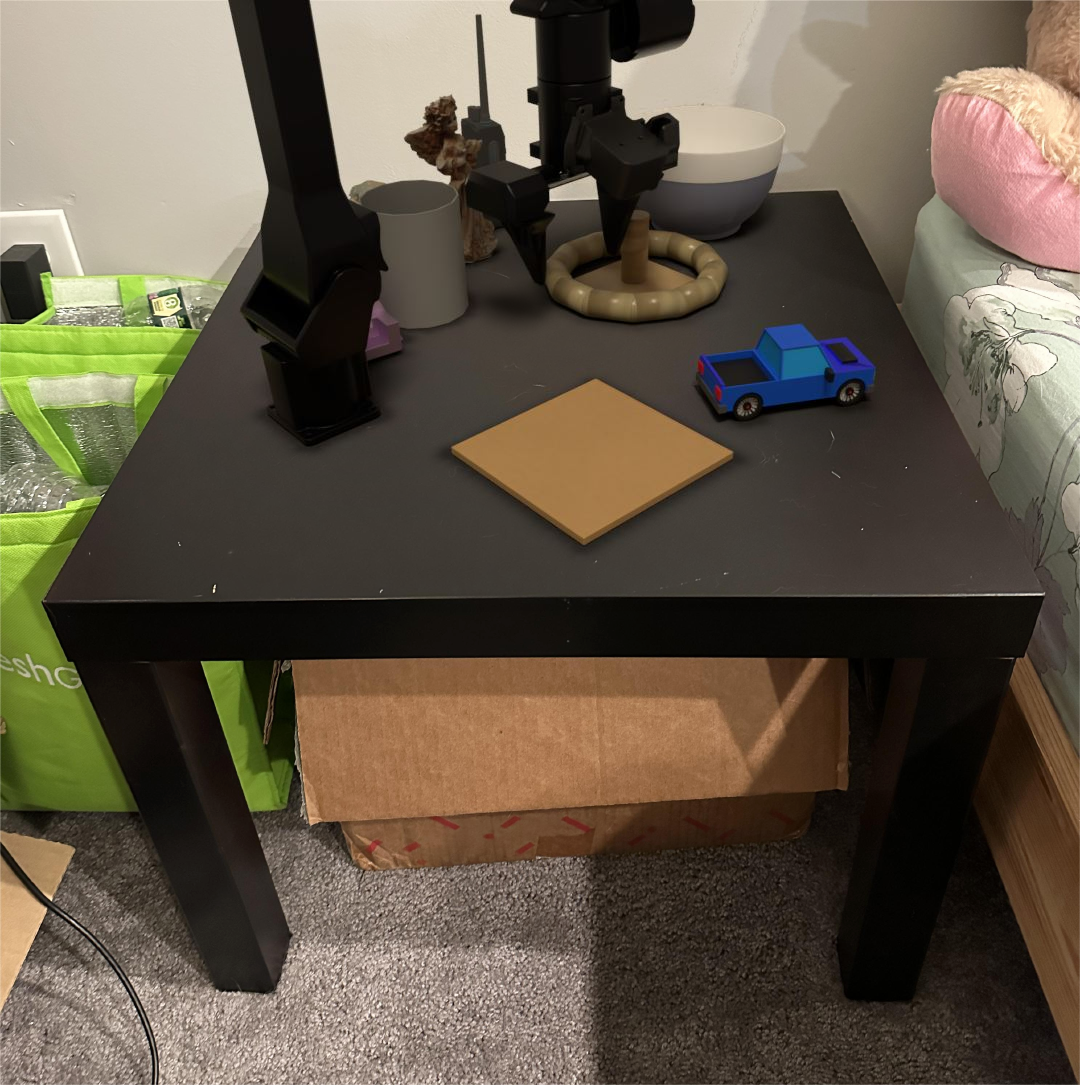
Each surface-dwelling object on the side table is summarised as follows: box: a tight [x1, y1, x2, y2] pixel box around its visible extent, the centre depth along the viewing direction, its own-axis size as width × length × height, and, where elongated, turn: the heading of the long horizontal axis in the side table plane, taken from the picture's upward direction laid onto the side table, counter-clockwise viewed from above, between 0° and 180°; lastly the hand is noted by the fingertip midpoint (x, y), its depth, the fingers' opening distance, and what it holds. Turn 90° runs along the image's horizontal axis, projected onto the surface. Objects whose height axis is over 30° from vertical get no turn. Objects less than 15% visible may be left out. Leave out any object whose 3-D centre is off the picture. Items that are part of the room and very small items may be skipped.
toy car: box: [695, 323, 877, 422], centre depth 71 cm, size 7×12×5 cm, turn 101°
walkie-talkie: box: [460, 13, 507, 230], centre depth 95 cm, size 5×3×20 cm
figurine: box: [403, 93, 499, 264], centre depth 90 cm, size 7×6×15 cm
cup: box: [358, 179, 469, 330], centre depth 83 cm, size 8×8×10 cm
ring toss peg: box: [573, 209, 696, 294], centre depth 86 cm, size 8×8×7 cm
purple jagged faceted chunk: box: [365, 300, 404, 362], centre depth 79 cm, size 8×7×6 cm
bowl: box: [631, 104, 787, 242], centre depth 96 cm, size 16×16×10 cm
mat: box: [450, 378, 734, 546], centre depth 67 cm, size 14×14×1 cm
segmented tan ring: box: [545, 229, 729, 323], centre depth 88 cm, size 17×17×2 cm
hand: (577, 269), depth 83 cm, fingers open, 8 cm apart
